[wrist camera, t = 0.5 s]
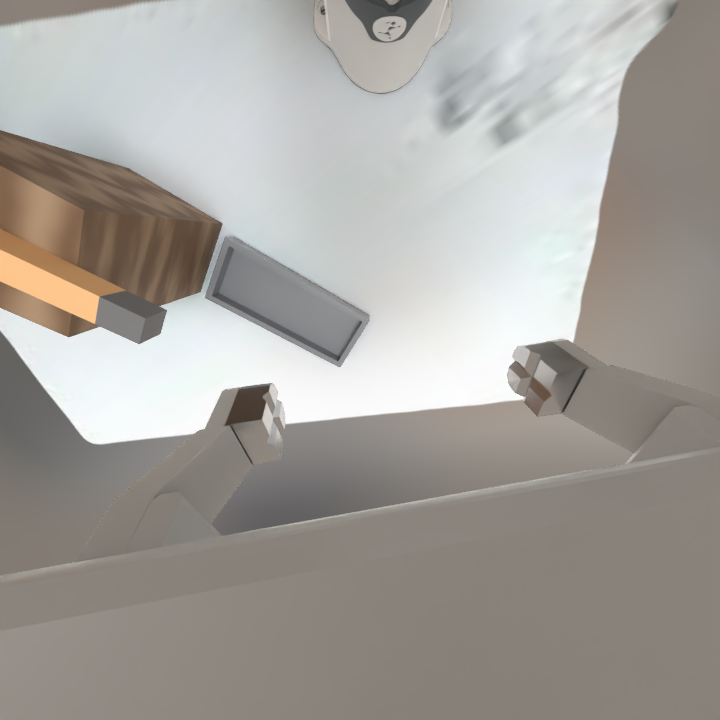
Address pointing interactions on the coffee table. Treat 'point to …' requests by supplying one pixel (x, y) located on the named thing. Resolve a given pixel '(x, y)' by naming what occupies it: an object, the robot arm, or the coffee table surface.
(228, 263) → the tray
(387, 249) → the coffee table surface
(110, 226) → the stand
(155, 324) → the marker
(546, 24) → the coffee table surface
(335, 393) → the coffee table surface
